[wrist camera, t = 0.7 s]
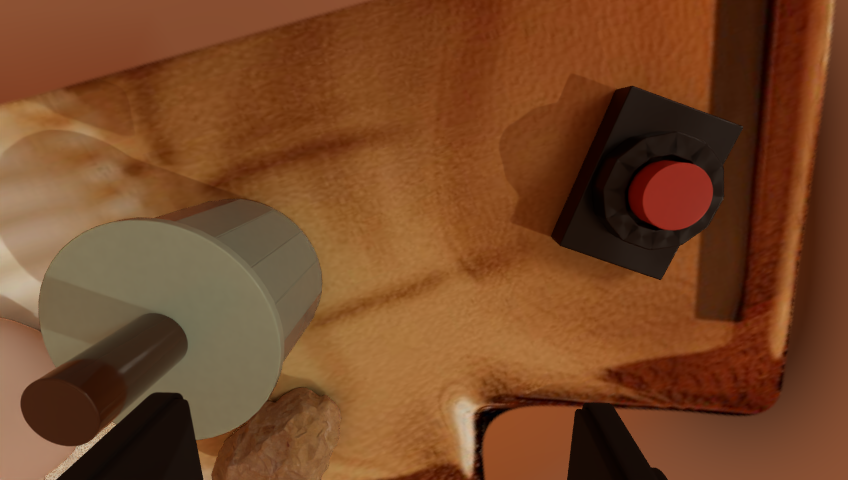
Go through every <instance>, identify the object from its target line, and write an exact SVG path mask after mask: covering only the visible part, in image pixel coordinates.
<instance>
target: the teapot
mask: <svg viewBox="0 0 848 480" xmlns="http://www.w3.org/2000/svg"><path fill="white" fill-rule="evenodd" d="M55 368H56V367H55V365H54V364H53V362H52V360H51V358H50V356H49V354H48V351H47V349H46V347H45V344H44V341H43V337H42V333H41V331H38V330H36V329H34V328H31V327H29V326H26V325H23V324H21V323H19V322H16V321H13V320H9V319H5V318H1V317H0V480H45V476H46V475H47V474H49V473H50V472H52V471H53V470H54V469H56V468H57V467H58V466H59V465H60V464H61V463H62V462H64V461H65V460H66V459H67V458H68V457H69V456H70V455H71V453H72V452H73V451H74V449H75V448H76V446H61V445H57V444H54V443H51V442H49V441H47V440H45V439H43V438H42V437H40V436H39V435H38V434H36V433H35V432H34V431H33V430H32V429H31V428H30V427H29V425H28V424H27V423H26V421H25V419H24V417H23V415H22V412H21V407H20V400H21V396H22V393H23V392H24V390H25V389H26V387H27V386H28V385H29V384H31V383H32V382H34V381H35V380H37V379H39V378H40V377H42V376H43V375H45V374H47V373H48V372H50V371H52V370H53V369H55Z"/></svg>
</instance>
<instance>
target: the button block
mask: <svg viewBox="0 0 848 480" xmlns="http://www.w3.org/2000/svg"><path fill="white" fill-rule="evenodd" d="M742 129H743V126H740V125H738V124H735V123H732V122H730V121H727V120H724V119H721V118H719V117H716V116H713V115H711V114H708V113H705V112H702V111H700V110H697V109H694V108H691V107H689V106H686V105H683V104H681V103H678V102H675V101H672V100H670V99H667V98H664V97H662V96H659V95H656V94H653V93H651V92H648V91H645V90H642V89H640V88H637V87H634V86H629V87H625V88H621V89H617V90H615V93H614V95H613V97H612V99H611V102H610V104H609V106H608V109H607V111H606V113H605V115H604V118H603V120H602V122H601V124H600V127H599V129H598V131H597V133H596V136H595V138H594V140H593V142H592V145H591V147H590V149H589V151H588V154H587V156H586V158H585V160H584V163H583V165H582V167H581V169H580V172H579V174H578V176H577V179H576V181H575V183H574V185H573V188H572V190H571V192H570V194H569V197H568V199H567V201H566V203H565V206H564V208H563V210H562V212H561V215H560V217H559V219H558V221H557V224H556V226H555V228H554V230H553V233H552V235H551V237H552V238H553V239H554V240H555V241H556V242H557V243H558V244H559V245H560V246H562V247H565V248H568V249H571V250H574V251H577V252H580V253H583V254H586V255H589V256H592V257H594V258H597V259H600V260H603V261H606V262H609V263H612V264H615V265H618V266H621V267H624V268H627V269H629V270H632V271H635V272H638V273H641V274H644V275H647V276H650V277H653V278H656V279H659V280H661V279H662V277H663V275H664V274H665V272H666V270H667V268H668V266H669V264H670V263H671V261H672V259H673V257H674V255H675V253H676V251H677V250H678V248H679V246H680V245H683V244H684V243H685V242H687V241H688V240H690V239H691V238H692V237H694V236H695V235H697V234H698V233H699V232H701V231H702V230H704V229H705V228H707V227H708V225H709V224H710V222H711V220H712V218H713V217H714V215H715V213H716V211H717V209H718V208H719V206H720V204H721V202H722V200H723V197H724V168H723V164H724V162H725V160H726V159H727V157H728V155H729V153H730V151H731V149H732V148H733V146H734V144H735V142H736V140H737V138H738V136H739V135H740V133H741V131H742ZM662 160H669V161H677V162H684V163H691V164H694V165H696V166H698V167H700V168H702V169H703V170H704V171H705V172H706V173H707V175H708V176H709V178H710V180H711V182H712V187H713V196H712V201H711V204H710V206H709V208H708V210H707V211H706V213H705V214H704V215H703V216H702V217H701V218H700V219H699V220H698V221H697V222H696V223H694V224H693V225H691V226H689V227H686V228H684V229H680V230H664V229H661V228H658V227H656V226H654V225H651V224H649V223H647V222H645V221H642V220H641V219H639V218H638V217H637V216H636V215H635V214H634V213H633V212H632V210H631V208H630V206H629V203H628V190H629V186H630V184H631V182H632V180H633V178H634V177H635V175H636V174H637V173H638V172H639V171H640V170H641V169H642V168H644V167H645V166H647V165H649V164H651V163H653V162H657V161H662Z"/></svg>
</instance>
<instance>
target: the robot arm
mask: <svg viewBox="0 0 848 480" xmlns="http://www.w3.org/2000/svg"><path fill="white" fill-rule="evenodd" d="M56 480H203V475H202V470H201V465H200V459H199V454H198V449H197V443H196V438H195V433H194V428H193V422H192V417H191V412H190V406H189V403H188V401H187V400H185V399H183V396H182V395H181V394H180V393H171V392H155V393H152V394H150V395H149V396H148V397H147V398H145V399H144V400H143V401H142V402H141V403H140V404H139V405H138V406H137V407H136V408H135V409H133V410H132V411H131V412H130V413H129V414H128V415H127V416H126V417H125V418H124V419H122V420H121V421H120V422H119V423H118V424H117V425H116V426H115V427H114V428H113V429H111V430H110V431H109V432H108V433H107V434H106V435H105V436H104V437H103V438H102V439H100V440H99V441H98V442H97V443H96V444H95V445H94V446H93V447H92V448H91V449H89V450H88V451H87V452H86V453H85V454H84V455H83V456H82V457H81V458H80V459H78V460H77V461H76V462H75V463H74V464H73V465H72V466H71V467H70V468H69V469H67V470H66V471H65V472H64V473H63V474H62V475H61V476H60V477H59V478H58V479H56ZM567 480H668V479H667V478H666V476H665V475H664V474H663V473H662V471H660V470H659V469H657V468H651V467H650V465H649V464H648V462H647V460H646V459H645V457H644V455H643V454H642V452H641V451H640V449H639V447H638V446H637V444H636V443H635V441H634V439H633V438H632V436H631V434H630V433H629V431H628V430H627V428H626V427H625V425H624V423H623V422H622V420H621V418H620V417H619V415H618V413H617V412H616V410H615V409H614V407H613V406H612V405H611V404H609V403H584V405H583V408H582V409H577V410H576V411H575V417H574V426H573V434H572V442H571V451H570V461H569V469H568V477H567Z"/></svg>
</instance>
